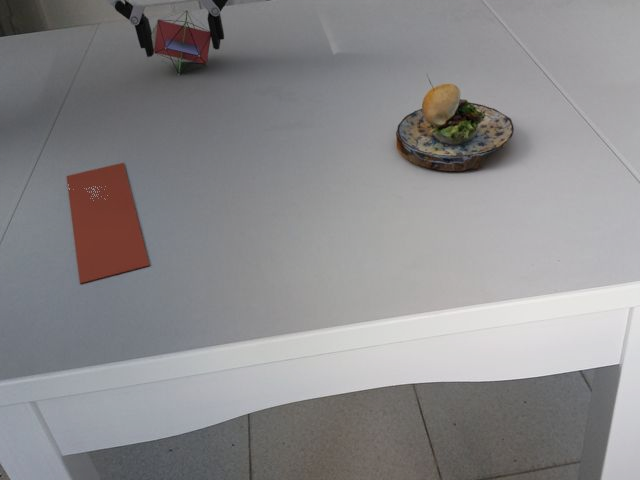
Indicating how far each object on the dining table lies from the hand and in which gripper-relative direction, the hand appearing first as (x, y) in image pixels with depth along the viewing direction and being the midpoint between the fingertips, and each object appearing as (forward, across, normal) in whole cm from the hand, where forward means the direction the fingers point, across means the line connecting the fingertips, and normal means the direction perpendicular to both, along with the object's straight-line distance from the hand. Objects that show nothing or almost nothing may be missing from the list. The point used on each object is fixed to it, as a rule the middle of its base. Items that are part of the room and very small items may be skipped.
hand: (184, 48), depth 94 cm
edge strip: (+2, -5, -35) cm, 35 cm away
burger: (+3, +30, -28) cm, 41 cm away
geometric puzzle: (+3, 0, 0) cm, 3 cm away
